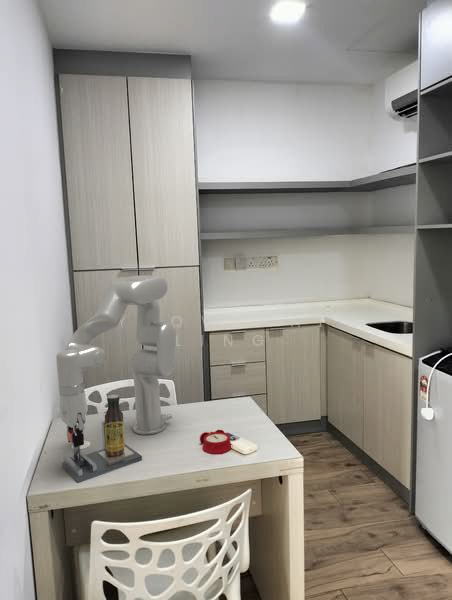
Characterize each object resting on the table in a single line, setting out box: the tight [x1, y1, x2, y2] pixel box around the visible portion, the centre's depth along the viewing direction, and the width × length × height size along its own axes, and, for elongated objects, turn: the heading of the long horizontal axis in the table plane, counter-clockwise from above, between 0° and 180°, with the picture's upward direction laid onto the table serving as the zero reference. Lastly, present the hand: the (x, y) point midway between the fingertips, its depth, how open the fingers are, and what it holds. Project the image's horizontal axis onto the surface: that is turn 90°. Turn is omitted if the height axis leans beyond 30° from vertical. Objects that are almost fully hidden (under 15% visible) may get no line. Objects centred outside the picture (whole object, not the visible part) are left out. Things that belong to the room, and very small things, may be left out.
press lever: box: [66, 427, 85, 466], centre depth 152 cm, size 4×5×11 cm
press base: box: [61, 420, 143, 484], centre depth 155 cm, size 22×14×12 cm, turn 128°
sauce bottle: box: [104, 394, 125, 456], centre depth 158 cm, size 7×6×20 cm
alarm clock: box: [199, 429, 233, 455], centre depth 166 cm, size 10×6×15 cm
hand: (76, 442), depth 152 cm, fingers closed on press lever, 4 cm apart
